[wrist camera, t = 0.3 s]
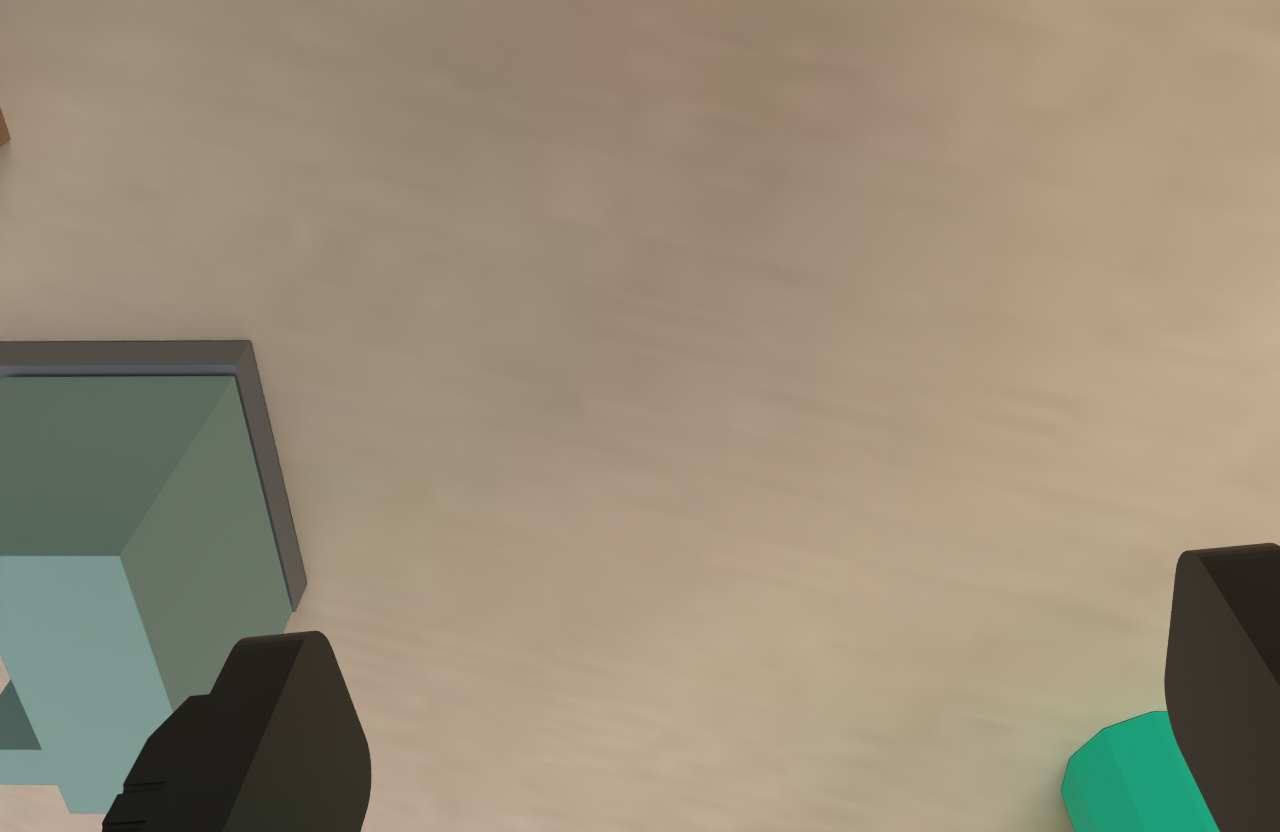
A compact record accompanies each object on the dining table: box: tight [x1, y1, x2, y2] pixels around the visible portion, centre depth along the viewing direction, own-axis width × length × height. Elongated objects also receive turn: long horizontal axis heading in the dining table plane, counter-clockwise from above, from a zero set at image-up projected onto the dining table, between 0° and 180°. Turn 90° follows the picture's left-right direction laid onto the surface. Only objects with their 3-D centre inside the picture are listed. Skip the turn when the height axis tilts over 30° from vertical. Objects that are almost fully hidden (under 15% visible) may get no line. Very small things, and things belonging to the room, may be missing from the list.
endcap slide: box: [0, 376, 292, 814], centre depth 27 cm, size 8×6×7 cm
